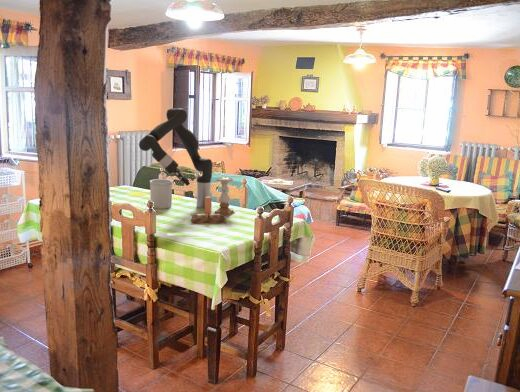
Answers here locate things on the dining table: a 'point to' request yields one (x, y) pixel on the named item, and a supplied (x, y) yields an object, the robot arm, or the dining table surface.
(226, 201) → the candle holder
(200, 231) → the dining table surface
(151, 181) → the utensil holder
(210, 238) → the dining table surface
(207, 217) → the offcut block
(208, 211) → the slat
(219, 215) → the offcut block
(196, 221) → the rack
